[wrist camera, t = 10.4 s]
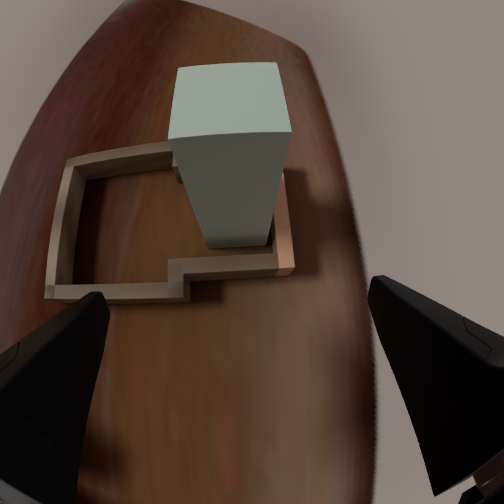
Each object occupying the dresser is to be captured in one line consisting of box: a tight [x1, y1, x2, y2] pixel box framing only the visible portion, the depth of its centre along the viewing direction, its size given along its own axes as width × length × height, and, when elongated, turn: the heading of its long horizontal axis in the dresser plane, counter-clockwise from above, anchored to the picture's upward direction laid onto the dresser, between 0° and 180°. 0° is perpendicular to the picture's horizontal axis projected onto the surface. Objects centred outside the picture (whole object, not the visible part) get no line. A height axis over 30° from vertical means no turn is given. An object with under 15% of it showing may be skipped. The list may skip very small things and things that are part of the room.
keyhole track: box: [45, 141, 295, 304], centre depth 20 cm, size 12×18×2 cm, turn 94°
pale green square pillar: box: [168, 62, 292, 249], centre depth 16 cm, size 4×4×12 cm
